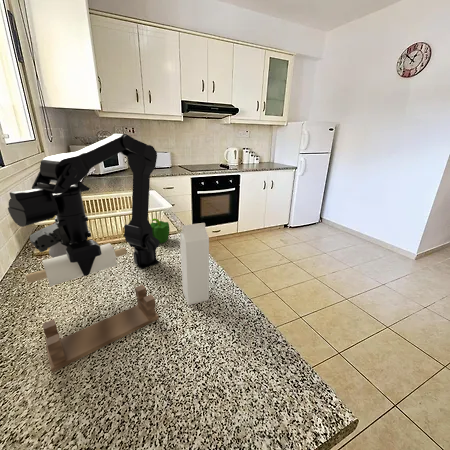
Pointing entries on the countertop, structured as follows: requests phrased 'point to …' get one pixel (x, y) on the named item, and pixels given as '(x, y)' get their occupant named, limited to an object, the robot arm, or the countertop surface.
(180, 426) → the countertop surface
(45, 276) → the kitchen roll
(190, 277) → the milk
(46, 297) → the countertop surface
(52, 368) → the bracket
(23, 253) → the countertop surface
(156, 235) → the bell pepper
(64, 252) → the coffee pot
